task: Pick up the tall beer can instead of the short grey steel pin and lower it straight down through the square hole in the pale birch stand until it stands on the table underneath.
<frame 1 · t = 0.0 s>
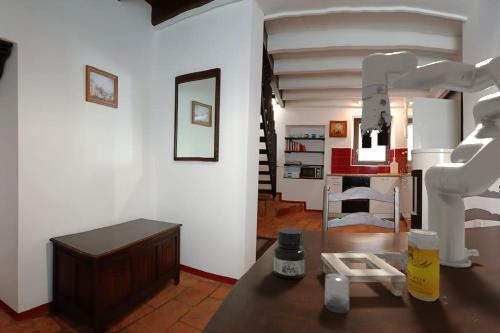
hand: (374, 147, 81), 37 cm above the table, tool pointing down, fingers open, 9 cm apart
birch stand: (358, 282, 65), on the table
beer can: (422, 296, 58), on the table
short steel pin: (336, 306, 54), on the table
ink bottle: (289, 273, 70), on the table
caliper: (374, 263, 79), on the table
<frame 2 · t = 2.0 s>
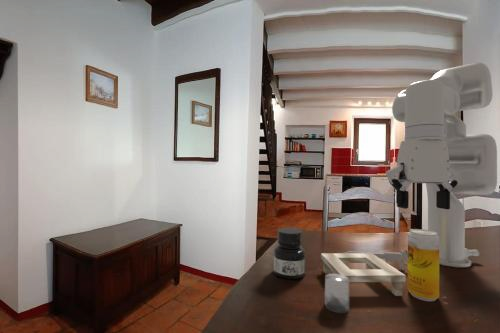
hand: (422, 208, 58), 21 cm above the table, tool pointing down, fingers open, 9 cm apart
nothing on the table moved.
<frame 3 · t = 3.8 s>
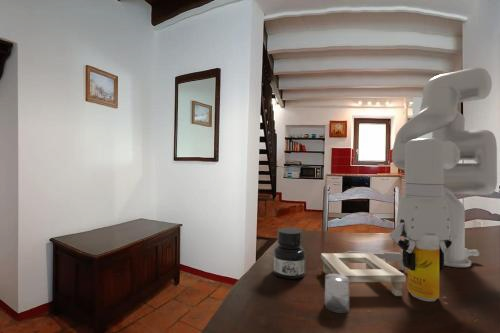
hand: (423, 267, 58), 7 cm above the table, tool pointing down, fingers closed on beer can, 6 cm apart
beer can: (422, 296, 58), on the table, touching gripper
everything else where it was.
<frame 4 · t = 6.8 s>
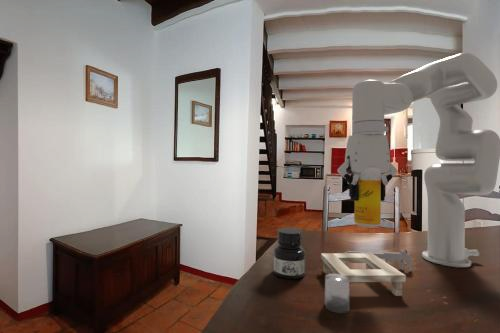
hand: (367, 199, 64), 22 cm above the table, tool pointing down, fingers closed on beer can, 6 cm apart
beer can: (367, 226, 64), point 15 cm above the table, touching gripper
everything else where it was.
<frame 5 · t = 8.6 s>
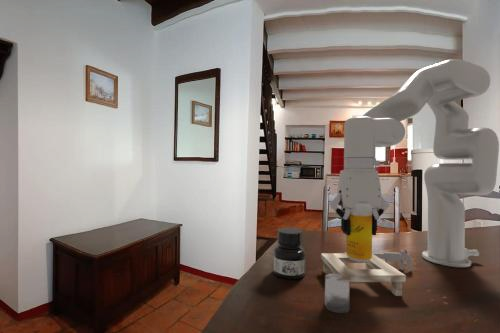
hand: (358, 233, 65), 13 cm above the table, tool pointing down, fingers closed on beer can, 6 cm apart
beer can: (358, 259, 65), point 6 cm above the table, touching gripper
everything else where it was.
when the fingers open (7 cm above the table, at t = 10.1 s): beer can stays where it is, on the table.
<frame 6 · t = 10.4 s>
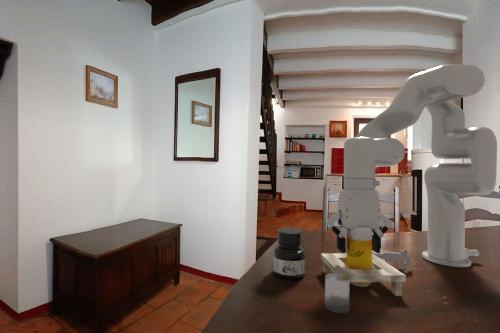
hand: (358, 251, 65), 8 cm above the table, tool pointing down, fingers open, 8 cm apart
beer can: (358, 283, 65), on the table
everything else where it was.
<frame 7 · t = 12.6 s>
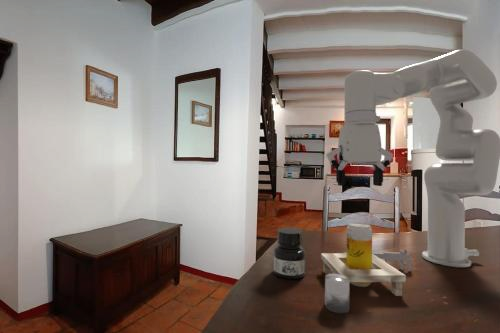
hand: (359, 185, 65), 25 cm above the table, tool pointing down, fingers open, 9 cm apart
nothing on the table moved.
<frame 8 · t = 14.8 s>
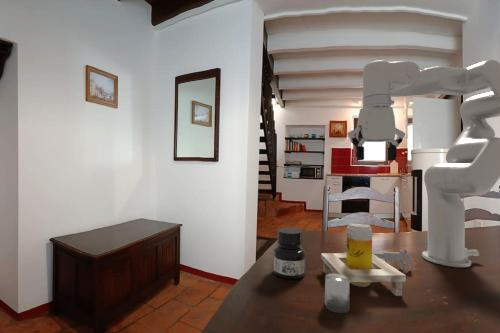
hand: (376, 160, 75), 32 cm above the table, tool pointing down, fingers open, 9 cm apart
nothing on the table moved.
at the end: beer can 0.1 cm off-centre on the birch stand, point 0.0 cm above the birch stand's base; beer can tilted 0°; the gripper is holding nothing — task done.
